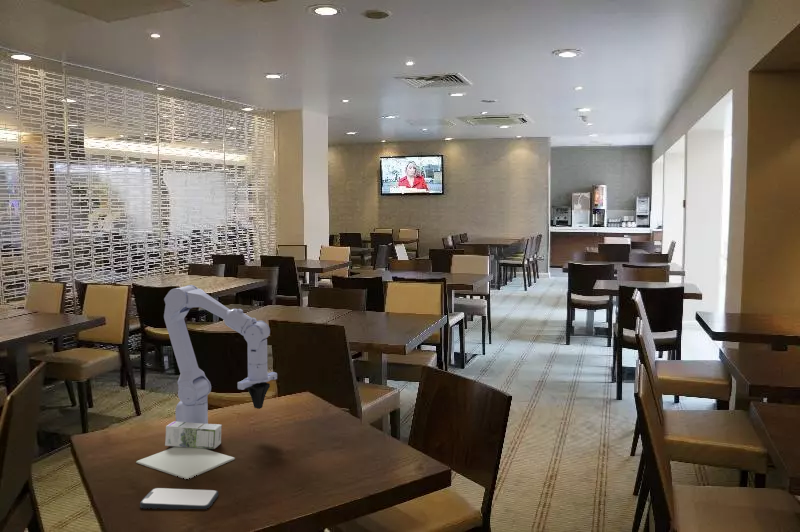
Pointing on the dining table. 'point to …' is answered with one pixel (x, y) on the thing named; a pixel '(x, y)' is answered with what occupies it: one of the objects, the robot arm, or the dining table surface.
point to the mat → (185, 461)
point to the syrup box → (193, 435)
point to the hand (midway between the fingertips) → (258, 407)
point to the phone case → (178, 499)
